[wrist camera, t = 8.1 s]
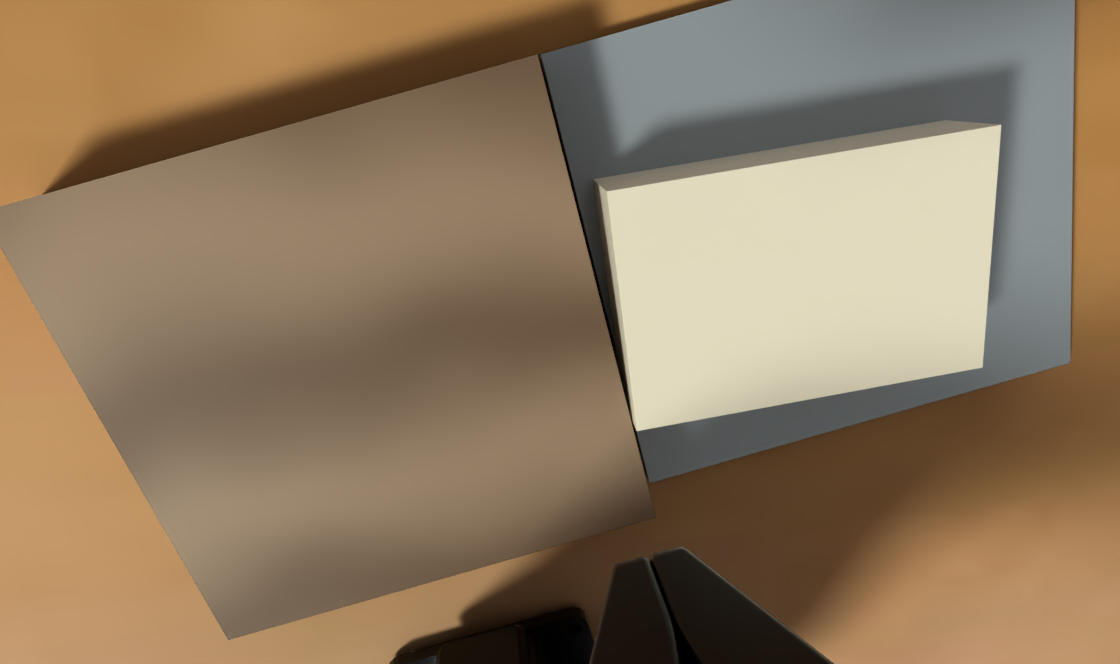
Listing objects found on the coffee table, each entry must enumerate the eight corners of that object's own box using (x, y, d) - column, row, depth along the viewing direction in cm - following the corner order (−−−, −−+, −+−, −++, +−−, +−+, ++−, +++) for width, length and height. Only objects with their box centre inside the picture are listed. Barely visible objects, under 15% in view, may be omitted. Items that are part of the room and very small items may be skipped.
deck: (640, 477, 20) (655, 517, 18) (252, 588, 20) (228, 639, 18) (531, 57, 16) (537, 54, 14) (39, 197, 16) (-20, 212, 14)
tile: (934, 339, 19) (982, 367, 17) (621, 396, 19) (636, 431, 17) (945, 119, 17) (1001, 125, 15) (593, 179, 17) (606, 191, 15)
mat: (1059, 357, 20) (1070, 363, 20) (647, 475, 20) (650, 482, 20) (1062, -94, 16) (1076, -98, 16) (539, 55, 16) (540, 54, 16)
